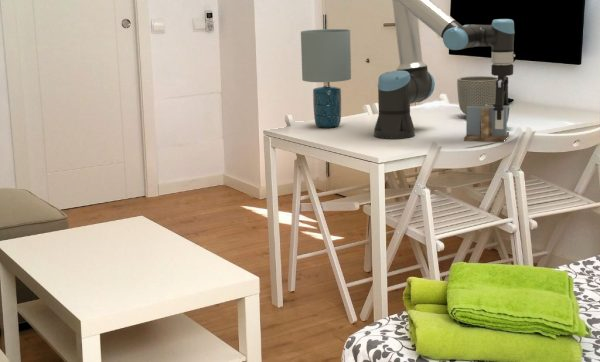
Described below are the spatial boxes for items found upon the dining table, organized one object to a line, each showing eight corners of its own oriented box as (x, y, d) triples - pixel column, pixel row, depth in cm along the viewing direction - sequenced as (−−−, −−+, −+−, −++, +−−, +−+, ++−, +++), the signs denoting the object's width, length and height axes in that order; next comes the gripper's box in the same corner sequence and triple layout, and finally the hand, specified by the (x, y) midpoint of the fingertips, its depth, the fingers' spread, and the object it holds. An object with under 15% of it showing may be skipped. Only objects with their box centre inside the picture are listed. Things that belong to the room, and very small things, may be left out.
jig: (464, 140, 318) (464, 109, 315) (470, 134, 330) (470, 104, 327) (504, 142, 313) (505, 110, 311) (508, 135, 325) (509, 104, 323)
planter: (498, 121, 355) (499, 81, 352) (454, 120, 360) (454, 81, 356) (501, 114, 371) (501, 75, 368) (459, 113, 376) (459, 75, 372)
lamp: (317, 121, 369) (314, 29, 361) (359, 123, 360) (358, 29, 352) (295, 129, 353) (291, 32, 344) (339, 131, 344) (336, 32, 335)
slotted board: (466, 134, 323) (466, 107, 320) (467, 133, 325) (467, 106, 323) (505, 135, 318) (506, 108, 316) (506, 134, 320) (507, 107, 318)
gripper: (509, 67, 302) (507, 132, 307) (517, 60, 323) (515, 121, 328) (486, 67, 305) (485, 131, 310) (496, 60, 325) (495, 120, 331)
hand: (501, 126), depth 319 cm, fingers open, 10 cm apart
